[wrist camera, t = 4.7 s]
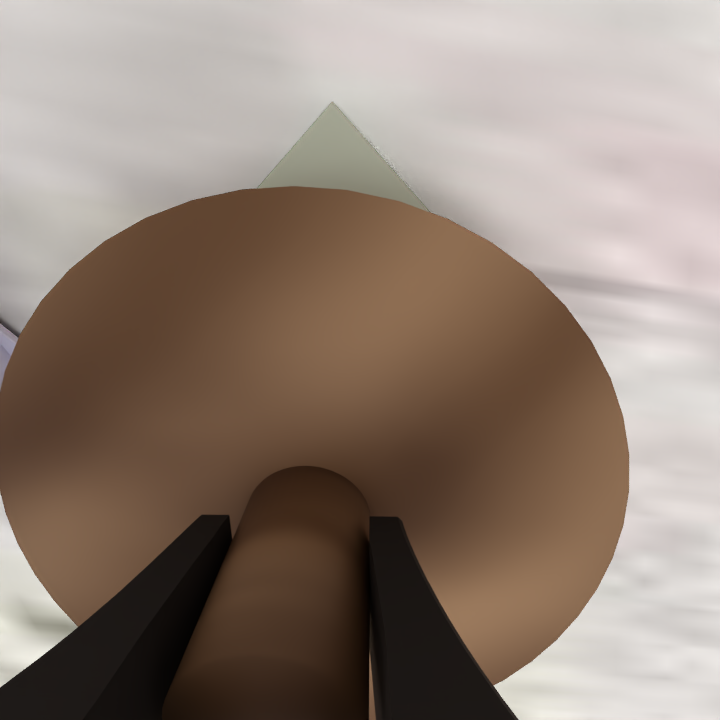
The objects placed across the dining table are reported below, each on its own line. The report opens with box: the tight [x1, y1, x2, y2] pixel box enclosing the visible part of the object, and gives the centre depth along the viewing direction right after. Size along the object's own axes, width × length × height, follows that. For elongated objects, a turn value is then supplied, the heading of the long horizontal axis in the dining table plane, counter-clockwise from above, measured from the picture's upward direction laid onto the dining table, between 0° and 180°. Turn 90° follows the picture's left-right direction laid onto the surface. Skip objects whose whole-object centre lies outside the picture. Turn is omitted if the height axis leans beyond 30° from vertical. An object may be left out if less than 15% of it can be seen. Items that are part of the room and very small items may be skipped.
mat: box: [257, 102, 429, 212], centre depth 18 cm, size 14×14×1 cm
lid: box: [0, 186, 629, 720], centre depth 9 cm, size 15×15×5 cm
